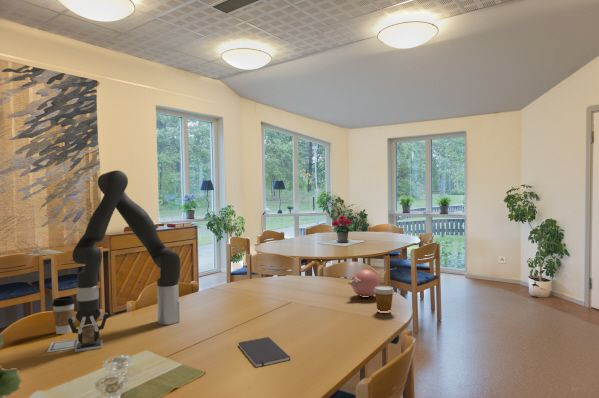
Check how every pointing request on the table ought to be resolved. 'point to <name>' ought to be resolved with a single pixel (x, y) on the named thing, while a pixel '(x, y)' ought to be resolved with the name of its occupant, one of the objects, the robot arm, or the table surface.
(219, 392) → the table surface
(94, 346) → the inkpad
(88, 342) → the stamp
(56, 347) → the card
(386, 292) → the disposable coffee cup
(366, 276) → the pink rounded piece
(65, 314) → the coffee cup
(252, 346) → the notebook
